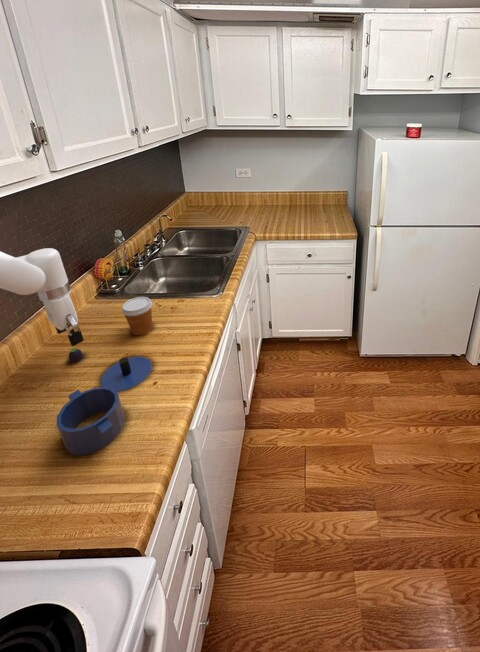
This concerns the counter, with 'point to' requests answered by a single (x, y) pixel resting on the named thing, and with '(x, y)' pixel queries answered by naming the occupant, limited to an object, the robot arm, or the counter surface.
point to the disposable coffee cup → (138, 315)
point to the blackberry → (75, 355)
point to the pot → (82, 408)
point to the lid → (126, 373)
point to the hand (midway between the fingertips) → (70, 337)
